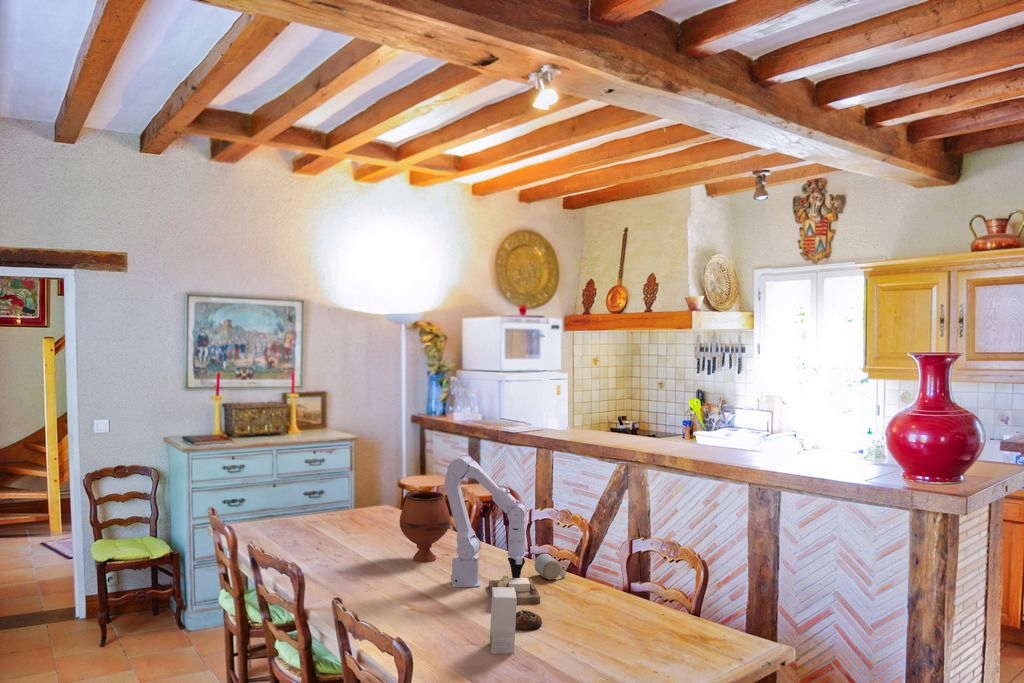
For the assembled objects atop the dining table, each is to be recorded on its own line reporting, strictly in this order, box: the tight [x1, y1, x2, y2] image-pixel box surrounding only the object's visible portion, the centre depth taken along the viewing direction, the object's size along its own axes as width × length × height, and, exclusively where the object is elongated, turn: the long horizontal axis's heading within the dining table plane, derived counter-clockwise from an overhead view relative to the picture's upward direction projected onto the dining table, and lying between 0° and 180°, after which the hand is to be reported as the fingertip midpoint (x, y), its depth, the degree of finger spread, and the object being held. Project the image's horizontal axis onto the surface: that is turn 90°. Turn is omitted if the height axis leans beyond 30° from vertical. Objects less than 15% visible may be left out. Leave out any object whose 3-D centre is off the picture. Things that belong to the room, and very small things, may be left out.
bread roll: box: [515, 609, 543, 632], centre depth 227 cm, size 11×11×5 cm
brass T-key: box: [498, 575, 509, 587], centre depth 245 cm, size 12×2×5 cm, turn 170°
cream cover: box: [507, 577, 530, 591], centre depth 254 cm, size 7×6×2 cm
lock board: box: [488, 577, 541, 605], centre depth 254 cm, size 15×18×4 cm
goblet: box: [399, 491, 451, 564], centre depth 292 cm, size 19×19×25 cm
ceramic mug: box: [534, 553, 567, 581], centre depth 274 cm, size 11×8×8 cm
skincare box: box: [489, 587, 517, 655], centre depth 209 cm, size 8×7×16 cm
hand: (515, 579), depth 260 cm, fingers closed
